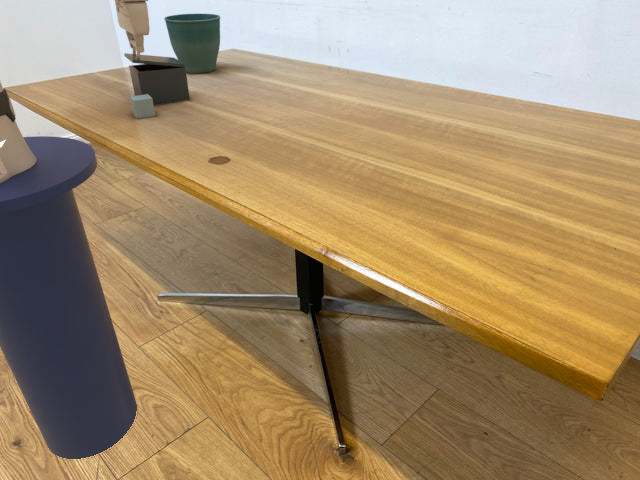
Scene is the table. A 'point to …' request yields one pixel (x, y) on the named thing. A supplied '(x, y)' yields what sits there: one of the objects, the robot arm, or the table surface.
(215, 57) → the flower pot
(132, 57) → the lid
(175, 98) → the dark grey open box
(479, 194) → the table surface
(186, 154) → the table surface
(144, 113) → the block
